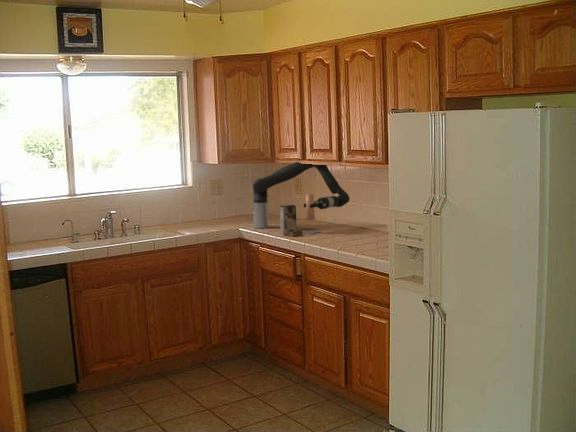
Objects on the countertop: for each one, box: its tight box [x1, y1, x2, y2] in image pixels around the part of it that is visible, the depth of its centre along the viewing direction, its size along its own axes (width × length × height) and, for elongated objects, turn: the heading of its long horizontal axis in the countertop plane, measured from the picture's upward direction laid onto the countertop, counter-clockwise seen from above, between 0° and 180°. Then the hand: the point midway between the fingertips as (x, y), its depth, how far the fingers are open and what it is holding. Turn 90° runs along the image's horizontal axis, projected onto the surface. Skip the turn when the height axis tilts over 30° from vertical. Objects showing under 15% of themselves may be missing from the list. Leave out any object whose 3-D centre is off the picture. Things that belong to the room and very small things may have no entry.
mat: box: [302, 230, 321, 235], centre depth 429 cm, size 9×9×1 cm
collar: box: [282, 229, 303, 238], centre depth 422 cm, size 8×8×3 cm
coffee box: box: [279, 204, 298, 231], centre depth 444 cm, size 9×6×16 cm
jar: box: [305, 193, 315, 221], centre depth 427 cm, size 5×5×16 cm
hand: (307, 205), depth 425 cm, fingers closed on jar, 5 cm apart
